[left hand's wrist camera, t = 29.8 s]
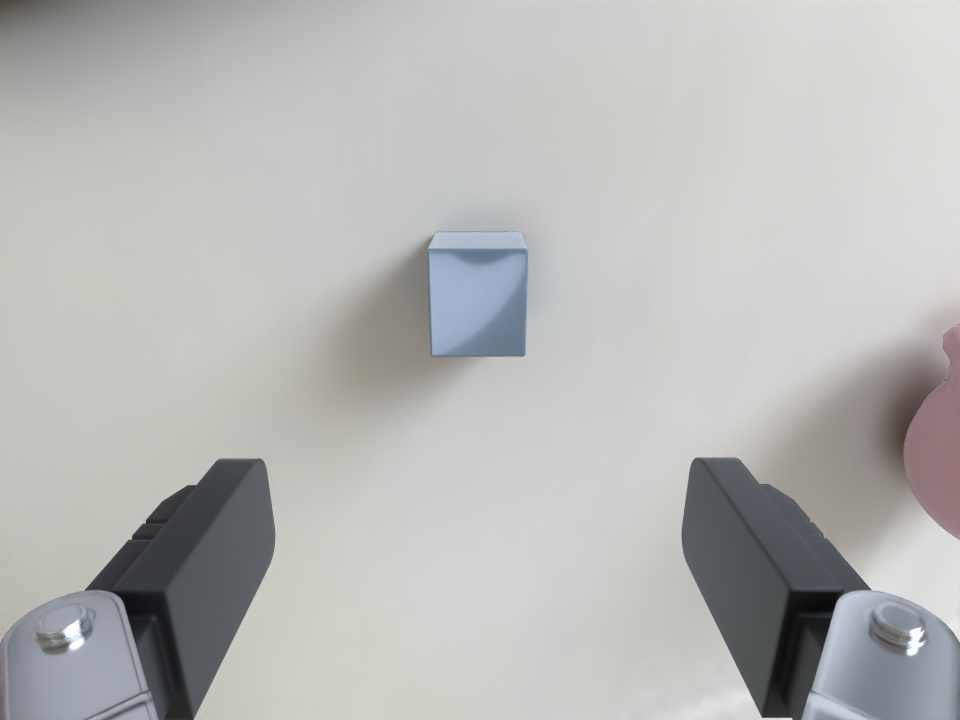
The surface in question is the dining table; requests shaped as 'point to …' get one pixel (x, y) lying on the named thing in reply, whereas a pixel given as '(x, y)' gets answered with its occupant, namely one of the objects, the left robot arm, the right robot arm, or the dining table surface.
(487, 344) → the block
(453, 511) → the dining table surface
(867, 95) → the dining table surface
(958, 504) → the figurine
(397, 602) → the dining table surface
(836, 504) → the dining table surface
